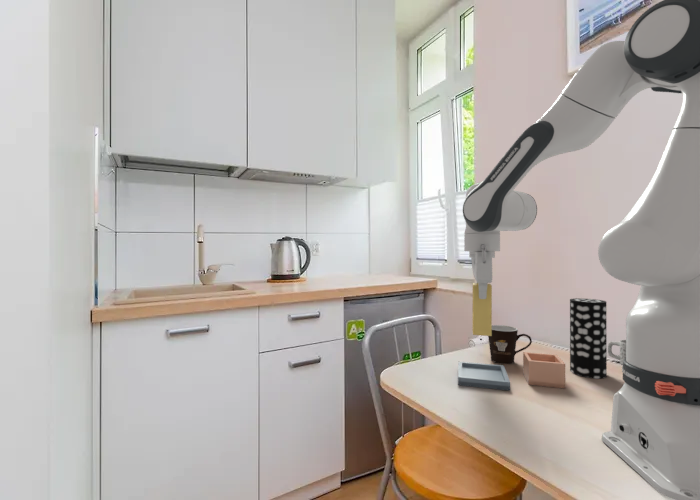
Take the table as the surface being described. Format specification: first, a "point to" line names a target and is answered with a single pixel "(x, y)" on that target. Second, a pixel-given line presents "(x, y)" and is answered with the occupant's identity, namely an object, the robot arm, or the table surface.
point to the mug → (622, 350)
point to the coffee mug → (504, 343)
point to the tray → (483, 375)
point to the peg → (482, 312)
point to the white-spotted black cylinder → (588, 338)
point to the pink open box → (544, 370)
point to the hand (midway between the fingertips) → (481, 297)
